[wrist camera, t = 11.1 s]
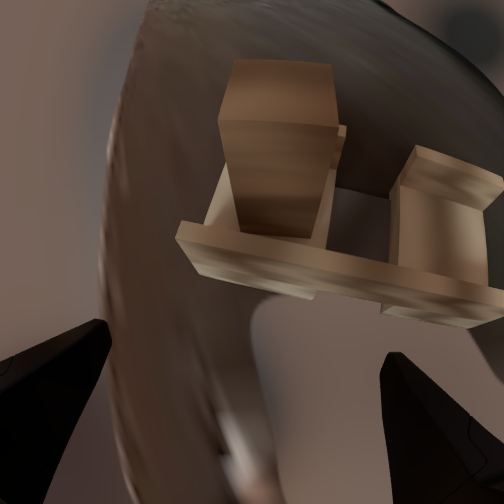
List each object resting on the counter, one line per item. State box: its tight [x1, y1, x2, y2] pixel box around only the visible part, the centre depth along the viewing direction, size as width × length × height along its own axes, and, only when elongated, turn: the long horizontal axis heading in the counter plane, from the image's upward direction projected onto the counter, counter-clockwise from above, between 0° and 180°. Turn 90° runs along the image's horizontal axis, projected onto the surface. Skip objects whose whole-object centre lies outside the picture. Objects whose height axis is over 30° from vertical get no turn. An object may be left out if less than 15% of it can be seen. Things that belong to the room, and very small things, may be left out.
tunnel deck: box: [175, 125, 504, 329], centre depth 21 cm, size 24×11×7 cm, turn 76°
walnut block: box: [218, 59, 339, 239], centre depth 18 cm, size 5×5×11 cm
